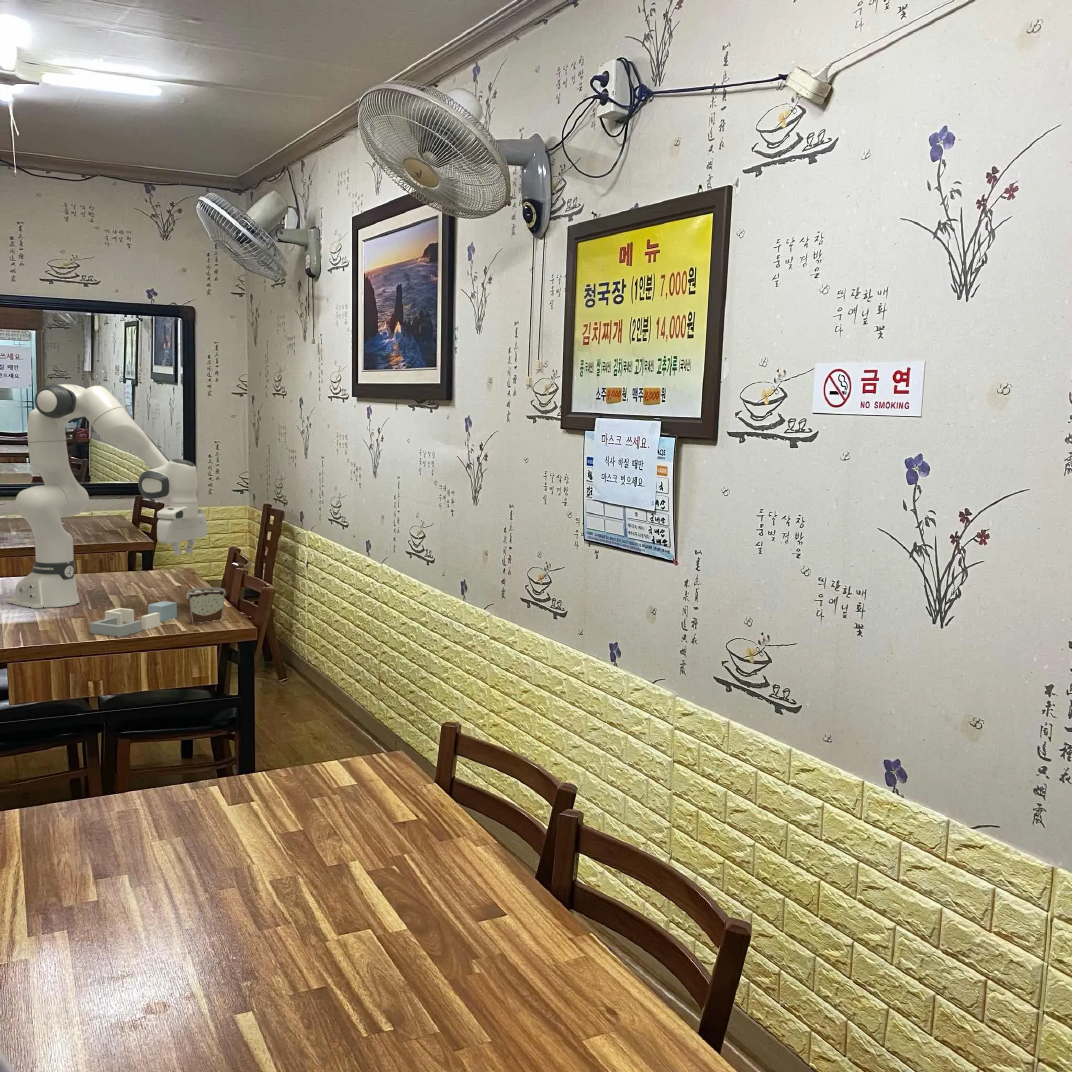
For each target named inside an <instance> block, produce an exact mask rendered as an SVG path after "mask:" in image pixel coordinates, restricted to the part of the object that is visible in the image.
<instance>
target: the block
mask: <svg viewBox="0 0 1072 1072" xmlns="http://www.w3.org/2000/svg"><path fill="white" fill-rule="evenodd" d="M155 612H156V613H160V623H163V621H164V622H167V621H166V620H168V621H170V620H169V619H171V620H174V619H173V618H175V619H177V618H178V602H175V601H168V600H162V601H158V602H154V603H150V604H148V606H147V613H148V614H152V613H155ZM148 614H147V615H148Z"/></svg>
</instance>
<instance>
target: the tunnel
mask: <svg viewBox="0 0 1072 1072" xmlns="http://www.w3.org/2000/svg"><path fill="white" fill-rule="evenodd" d="M111 617H115V618H117V625H122V624H123V623H125V624H126V623H130V622H133V621H135V609H129V608H125V607H124V608H123V607H118V608H114V609H109V610H105V611H104V619H108V618H111ZM141 621H142V631H143V630H144V631H147V630H150V629H154V628H157V627H160V626H161V624H160V623H161V622H160V613H156V612H155V613H152V614H145V615H142V616H141Z"/></svg>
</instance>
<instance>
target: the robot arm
mask: <svg viewBox="0 0 1072 1072" xmlns="http://www.w3.org/2000/svg"><path fill="white" fill-rule="evenodd" d="M34 404H35V408H34V409H32V410H30V412H29V414H28V417H27V444H28V445H27V446H28V456H29V463H30V464H29V465H30V467H31V469H32V470H33V471H35V472H37V473H38V474H39V476H40V477H41V478H42V481H43V485H35V486H31V487H28V488H25V489H22V490H21V491H19V492H18V494H17V495H16V498H15V502H14V503H15V509H16V510H15V511H16V512H17V513H18V515H19V516H20V517H21V518H23V519H24V520H25V521H26V522H27V523H28V525H29V527H30V530H31V531H32V534H33V538H34V551H35V561H34V562H30V563H28V565H29V566H28V567H29V568H30V567H31V572H30V573H28V575H26V576H24V578H23V579H22V580H20V581H18V582H17V584H16V585H15V589H14V596H13V597H9V598H7V600H6V603H7V604H11V603H12V604H11V605H17V606H21V607H25V608H29V607H31V608H30V609H43V607H44V608H59V607H68V606H74V605H78V604H80V602H81V601H80V595H79V594H78V588H77V581H76V580H77V579H76V575H75V572H76V560H75V559H74V538H73V536H72V534H71V533H70V532H69V531H66V530H65V528H64V526H63V524H62V518H69V517H73V516H77V515H79V514H81V513H83V512H85V511H86V510H87V509H88V506H90V505H89V504H90V496H89V494H88V492H87V491H88V490H86V488H85V487H83V486H82V485H81V484H80V483H79V482H78V481H77V479H76V478H75V475H74V474H73V471H72V469H71V466H70V462H69V454H68V446H67V436H66V426H67V424H68V423H69V422H72V423H74V422H77V421H80V420H83V419H85V418H86V420H87V421H88V422H89V424H90V425H91V426H92V428H93V429H94V431H95V432H96V433H97V434H98V436H99V437H100V438H101V439H103V440H104V441H105V442H106V443H108V444H110V445H112V446H117V447H121V448H123V449H126V450H129V451H131V452H133V453H134V454H136V455H137V456H139V457H140V458H141V460H142V461H143V462H144V463H145V464H146V465H147V467H149V469H148V470H145V471H143V472H142V473H141V474H140V475H139V477H138V481H137V486H138V487H137V488H138V491H139V492H140V494H141V495H142V496H143V497H144V498H146V499H148V500H163V499H167V505H166V506H164V507H163V508H162V509H160V510H158V511H157V512H156V517H157V519H158V520H157V524H156V540H157V541H158V542H159V543H161V544H170V545H171V548H172V549H173V554H174V556H176V557H177V556H181V555H183V553H182V551H183V550H182V549H180V546H179V545H180V542H184V541H186V542H187V545H186V547H185V548H184V552H185V554H192V553H193V550H194V549H193V548H194V546H195V543H196V539H200V538H202V539H203V538H206V537H207V535H208V521H207V517H206V513H205V511H204V510H203V509H201V508H199V504H198V503H199V502H198V500H199V499H198V498H197V494H198V493H197V492H198V488H199V485H198V484H199V481H198V472H197V467H196V465H195V464H194V462H192V461H189V460H185V459H179V458H175V459H171V460H170V459H169V458H168V457H167V456H166V454H165V453H164V452H163V451H162V450H161V449H160V448H159V446H158V445H157V444H156V443H155V442H154V441H153V440H152V438H151V437H149V435H148V434H147V433H145V432H144V430H143V429H142V428H140V426H139V424H137V423H136V422H135V420H134V419H133V418H132V416H131V415H130V414H129V413H128V412H127V410H126V409H125V408H124V406H123V405H122V404H121V403H120V401H119V400H118V399H117V398H116V397H115V396H114V394H112V393H111V392H110V391H109V390H108V389H107V388H106V387H104V386H102V385H92V386H89V387H86V386H84V385H77V384H72V383H62V384H54V383H52V384H46V385H44V386H41V387H40V388H38V390H37V391H36V393H35V395H34ZM77 603H78V604H77Z"/></svg>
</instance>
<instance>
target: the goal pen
mask: <svg viewBox="0 0 1072 1072" xmlns="http://www.w3.org/2000/svg"><path fill="white" fill-rule="evenodd" d="M142 631H143V630H142V620H134V621H133V622H130V623H126V622H125V623H124V624H123V623H122V625H117V618H115V617H111V618H108V619H105V618H104V619H100V620H97V621H92V622H89V633H90V634H92V635H99V634H101V636H107V635H110V636H109V637H114V636H117V637H116V638H122V637H126V636H128V635H132V634H136V633H138V632H139V633H140V632H142ZM125 635H126V636H125ZM121 636H122V637H121Z"/></svg>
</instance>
